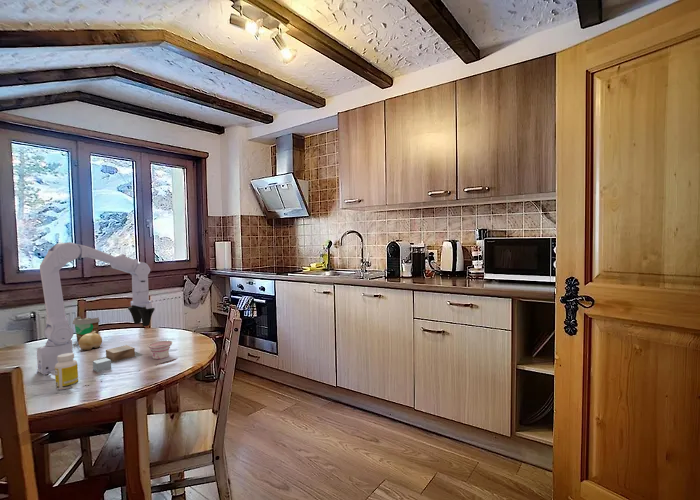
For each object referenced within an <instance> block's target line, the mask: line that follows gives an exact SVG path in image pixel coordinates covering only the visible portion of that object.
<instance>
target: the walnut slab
mask: <svg viewBox="0 0 700 500" xmlns="http://www.w3.org/2000/svg"><path fill="white" fill-rule="evenodd" d="M135 352H136V348H135V347H134V346H130V345H127V344H125V345H121V346H117V347H116V346H115V347H112V348H107V349H105V357H106V358H108V359H110V360H112V361H117V360H121V359H125V358H129V357H133V356H135Z"/></svg>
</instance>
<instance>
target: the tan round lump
mask: <svg viewBox="0 0 700 500" xmlns="http://www.w3.org/2000/svg"><path fill="white" fill-rule="evenodd" d="M77 342H78V346H79V348H80V349H81V350H83V351H91V350H93V348H94V349H98V348H99V347H100V346H101V344H102V342H103V339H102V336H101V335H100V334H99V333H98V334H97V333H96V331H94V332H93V331H92V332H91V333H89V334H85V335H84V336H82V337H81V338H80V340H79V341H77Z"/></svg>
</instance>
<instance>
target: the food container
mask: <svg viewBox="0 0 700 500" xmlns="http://www.w3.org/2000/svg"><path fill="white" fill-rule="evenodd" d="M100 322H101V321H100V318H99V317H93V318H91V317H88V318H86V317H85V318H81V316H76V317H75V318H73V320H72V324H73V325H74V329H75V336H76V341H77V342H79V340H80V338H81V337H82V336H84V335H85V334H89V333H91V332H92V331H93V332H94V331H96V333H97V334H99V325H100Z"/></svg>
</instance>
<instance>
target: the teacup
mask: <svg viewBox="0 0 700 500" xmlns="http://www.w3.org/2000/svg"><path fill="white" fill-rule="evenodd" d="M172 344H173V341H172V340H157V341H153V342H150V343H148V344H147V347H148V348H149V351H150V352H151V354H152V359H154V360H162V359H166V358H168V357H169V356H170V349H171V346H172ZM176 360H177V358H173V359H170V360H167V361H163V362H159V363H155V366H159V365H164V364H168V363H169V364H170V363H171V362H175V361H176Z"/></svg>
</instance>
